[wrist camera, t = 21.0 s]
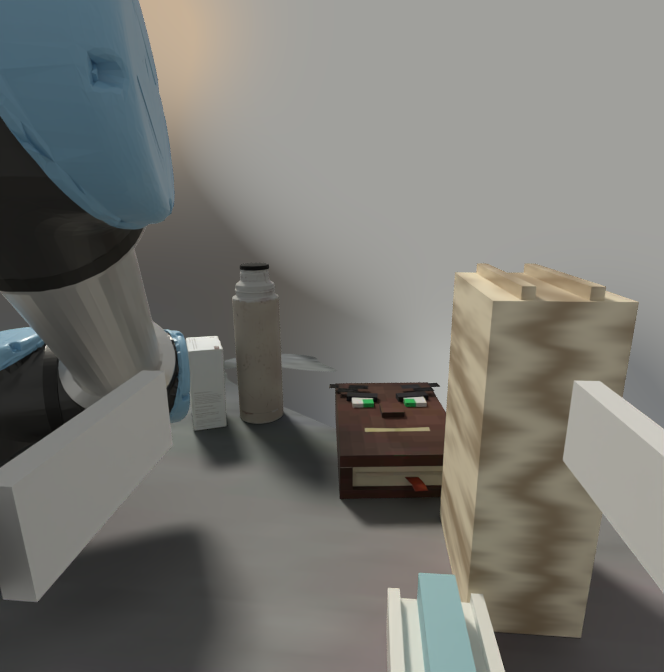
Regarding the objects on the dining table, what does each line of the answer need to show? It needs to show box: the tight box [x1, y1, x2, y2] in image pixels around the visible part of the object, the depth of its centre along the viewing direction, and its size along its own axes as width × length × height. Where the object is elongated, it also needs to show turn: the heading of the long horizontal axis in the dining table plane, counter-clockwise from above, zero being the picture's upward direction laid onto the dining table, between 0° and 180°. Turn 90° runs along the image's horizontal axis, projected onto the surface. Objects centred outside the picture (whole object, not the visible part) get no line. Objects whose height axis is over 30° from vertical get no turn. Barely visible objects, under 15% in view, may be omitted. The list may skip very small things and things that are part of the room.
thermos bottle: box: [232, 263, 283, 424], centre depth 81 cm, size 8×8×28 cm
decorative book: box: [329, 383, 446, 499], centre depth 71 cm, size 19×8×30 cm
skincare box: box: [186, 336, 227, 431], centre depth 81 cm, size 8×6×15 cm
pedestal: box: [440, 264, 639, 638], centre depth 44 cm, size 10×16×31 cm, turn 175°
